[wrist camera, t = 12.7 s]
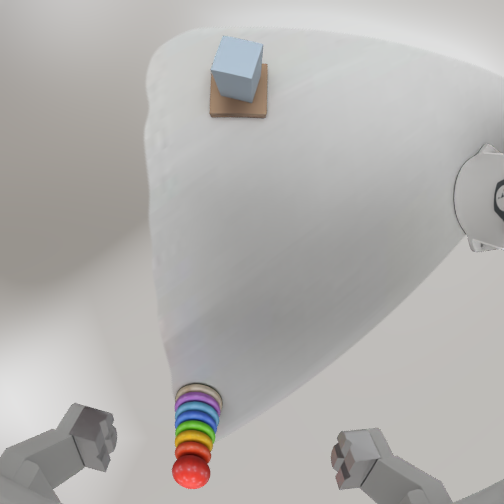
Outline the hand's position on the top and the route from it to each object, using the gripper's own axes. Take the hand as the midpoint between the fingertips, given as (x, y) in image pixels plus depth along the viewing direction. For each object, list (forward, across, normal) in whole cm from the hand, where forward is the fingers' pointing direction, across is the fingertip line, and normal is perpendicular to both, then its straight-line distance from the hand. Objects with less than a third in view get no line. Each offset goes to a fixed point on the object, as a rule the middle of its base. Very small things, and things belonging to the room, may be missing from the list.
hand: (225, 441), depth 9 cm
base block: (+35, +2, -20) cm, 40 cm away
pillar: (+32, +2, -20) cm, 37 cm away
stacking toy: (+34, +4, +28) cm, 44 cm away
